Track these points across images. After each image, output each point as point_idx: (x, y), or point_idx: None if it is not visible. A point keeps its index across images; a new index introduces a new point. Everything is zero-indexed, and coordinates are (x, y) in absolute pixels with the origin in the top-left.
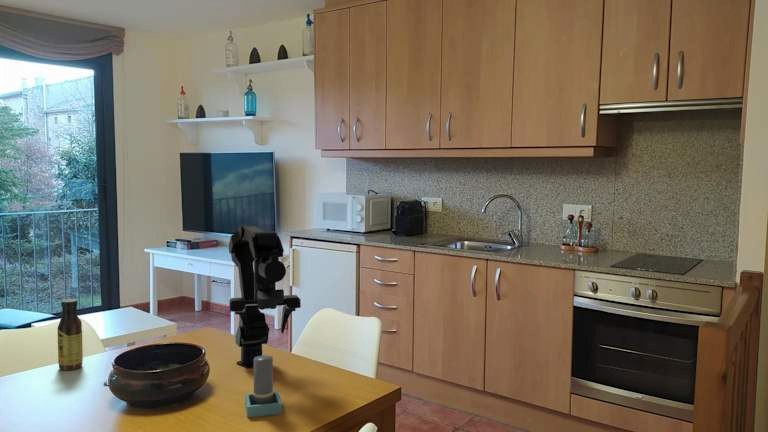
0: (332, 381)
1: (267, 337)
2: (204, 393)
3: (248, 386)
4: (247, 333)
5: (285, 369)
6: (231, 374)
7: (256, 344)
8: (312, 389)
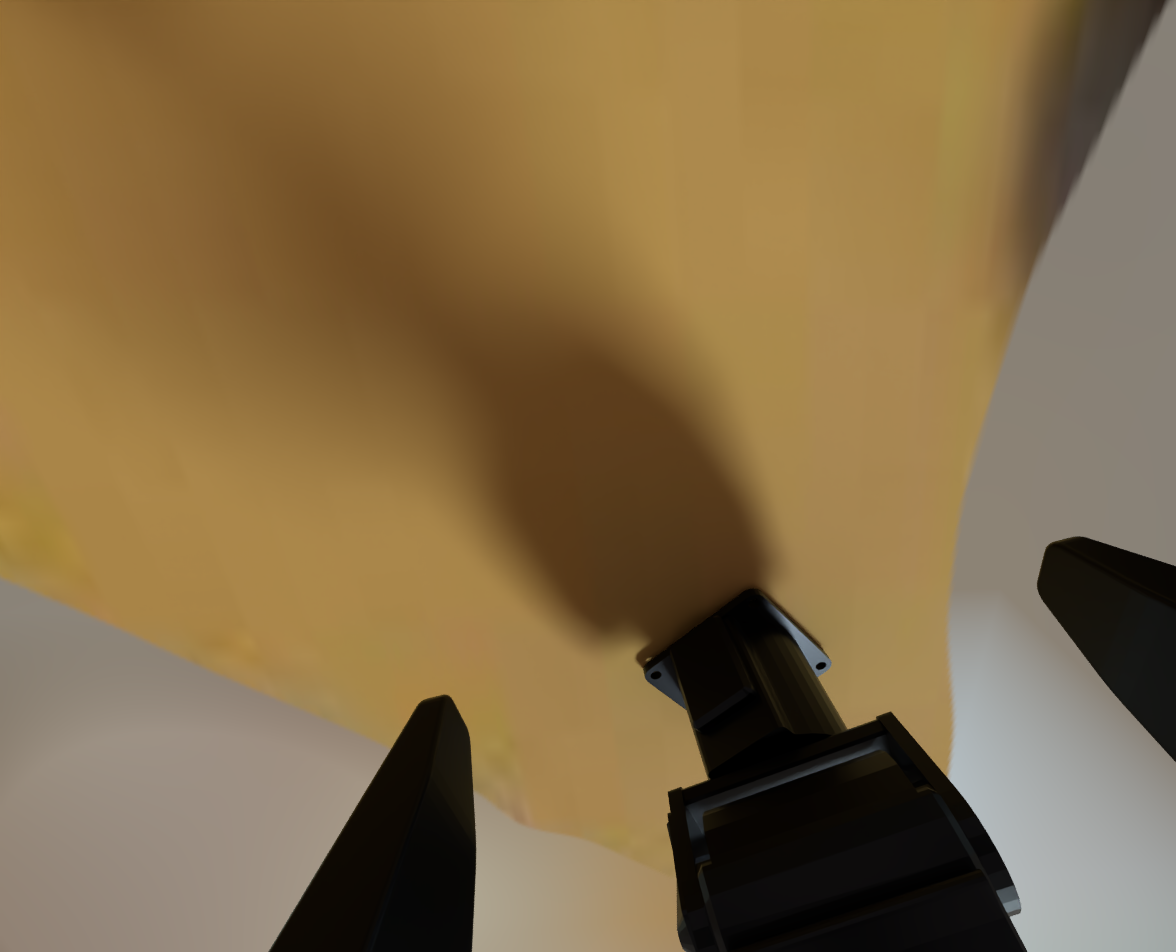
0: (14, 356)
1: (678, 837)
2: (1106, 59)
3: (741, 234)
4: (1120, 554)
5: (498, 589)
6: (863, 487)
7: (753, 764)
8: (126, 135)
